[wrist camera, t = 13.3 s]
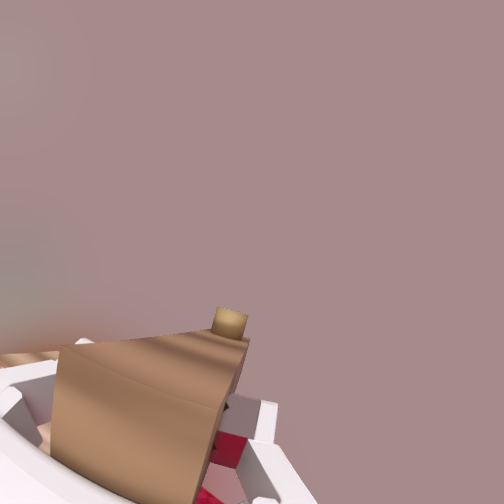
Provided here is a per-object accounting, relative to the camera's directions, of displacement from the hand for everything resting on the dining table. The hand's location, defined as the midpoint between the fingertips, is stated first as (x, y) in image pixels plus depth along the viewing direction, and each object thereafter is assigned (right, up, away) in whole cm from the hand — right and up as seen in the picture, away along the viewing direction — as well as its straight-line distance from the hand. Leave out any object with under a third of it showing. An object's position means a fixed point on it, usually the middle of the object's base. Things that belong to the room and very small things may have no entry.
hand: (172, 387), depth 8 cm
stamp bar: (-1, -4, +6) cm, 8 cm away
